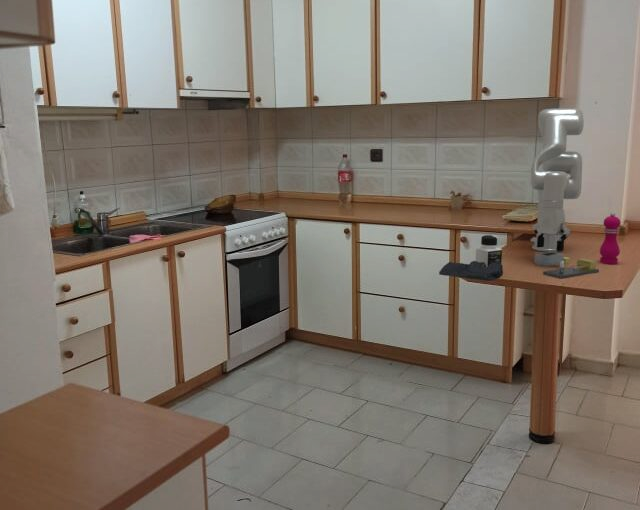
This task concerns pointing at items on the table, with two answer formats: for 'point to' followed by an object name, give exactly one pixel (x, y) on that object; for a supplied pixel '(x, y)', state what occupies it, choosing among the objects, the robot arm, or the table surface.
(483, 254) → the medicine bottle
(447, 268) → the dark grey cloth
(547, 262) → the link
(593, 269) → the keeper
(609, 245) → the pepper mill
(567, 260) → the block
